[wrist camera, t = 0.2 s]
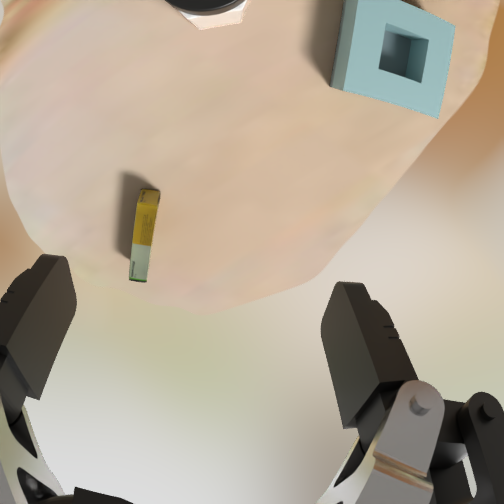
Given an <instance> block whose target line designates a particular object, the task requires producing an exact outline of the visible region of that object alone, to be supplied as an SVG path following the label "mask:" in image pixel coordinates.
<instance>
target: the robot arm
mask: <svg viewBox="0 0 504 504" xmlns="http://www.w3.org/2000/svg"><path fill="white" fill-rule="evenodd" d="M76 300H77V299H76V293H75V289H74V286H73V282H72V277H71V273H70V268H69V264H68V261H67V259H66V257H64V256H58V255H49V254H42V255H41V256H40V257H39V258H38V259H37V261H36V262H35V264H34V265H33V266H32V268H31V269H27V270H25V271H24V272H23V273H22V274H20V275H19V276H18V277H17V278H15V280H14V281H13V282H12V284H11V285H10V287H9V288H8V289H7V293H5V294H4V295H3V297H2V298H1V302H0V504H133V503H131V502H129V501H126V500H124V499H122V498H119V497H114V496H109V495H105V494H101V493H97V492H93V491H89V490H85V489H81V488H78V487H75V489H74V495H65V494H64V492H63V490H62V488H61V486H60V484H59V482H58V481H57V479H56V478H55V476H54V474H53V473H52V472H51V470H49V468H48V466H47V464H46V462H45V460H44V458H43V456H42V453H41V451H40V448H39V445H38V443H37V440H36V437H35V435H34V432H33V429H32V426H31V423H30V420H29V417H28V414H27V411H26V408H25V406H24V405H23V403H24V401H25V398H26V396H28V397H31V398H34V399H37V400H40V397H41V394H42V392H43V389H44V386H45V384H46V381H47V378H48V376H49V373H50V371H51V368H52V365H53V363H54V361H55V358H56V356H57V353H58V351H59V349H60V346H61V344H62V342H63V339H64V337H65V335H66V333H67V330H68V328H69V326H70V324H71V321H72V319H73V317H74V315H75V311H76V305H77V301H76ZM321 338H322V342H323V346H324V350H325V354H326V358H327V362H328V366H329V370H330V374H331V378H332V382H333V386H334V390H335V394H336V398H337V403H338V407H339V411H340V416H341V420H342V425H343V429H348V428H357V429H358V433H359V436H358V437H357V438H356V440H355V442H354V443H353V446H352V447H351V449H350V451H349V453H348V455H347V456H346V458H345V460H344V462H343V464H342V465H341V467H340V469H339V471H338V472H337V474H336V476H335V477H334V479H333V481H332V483H331V484H330V486H329V487H328V489H327V490H326V491H325V493H324V494H323V495H322V496H321V497H320V498H319V500H318V501H317V502H316V503H315V504H504V411H503V409H502V407H501V405H500V403H499V402H498V400H497V399H496V398H494V397H493V396H492V395H490V394H488V393H485V392H478V393H475V394H474V395H473V396H472V397H471V398H470V399H469V400H468V401H467V402H466V403H463V402H456V401H450V400H444V399H443V398H442V397H441V395H440V393H439V392H438V391H437V390H436V389H435V388H434V387H433V386H432V385H430V384H428V383H426V382H424V381H420V380H419V379H418V377H417V375H416V373H415V370H414V368H413V366H412V364H411V361H410V359H409V356H408V355H407V352H406V350H405V348H404V345H403V343H402V341H401V339H399V334H398V332H397V330H396V329H395V328H394V324H393V322H392V319H391V317H390V315H389V313H388V312H387V311H386V310H385V309H384V308H383V307H382V305H380V303H379V302H378V301H376V300H371V298H370V296H369V294H368V292H367V290H366V287H365V286H364V284H363V283H355V282H340V281H339V282H337V283H336V285H335V286H334V289H333V292H332V294H331V298H330V300H329V303H328V305H327V308H326V310H325V313H324V316H323V318H322V323H321ZM466 456H469V460H470V463H471V467H472V470H473V474H474V478H475V481H476V485H477V492H476V495H475V497H474V498H473V497H472V495H471V492H470V488H469V484H468V480H467V476H466V472H465V468H464V465H463V461H462V459H464V458H465V457H466Z"/></svg>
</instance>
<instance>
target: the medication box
mask: <svg viewBox="0 0 504 504" xmlns="http://www.w3.org/2000/svg"><path fill="white" fill-rule="evenodd" d="M159 202H160V191H154V190H148V189H141V192H140V195H139V198H138V201H137V207H136V214H135V222H134V230H133V239H132V248H131V258H130V269H129V280H131V281H136V282H147V275H148V269H149V263H150V256H151V249H152V242H153V236H154V229H155V224H156V218H157V212H158V207H159Z"/></svg>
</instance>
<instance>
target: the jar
mask: <svg viewBox="0 0 504 504" xmlns="http://www.w3.org/2000/svg"><path fill="white" fill-rule="evenodd" d="M165 1H167V2H168V3H169V4H170V5H171V6H173V7H174V8H176V9H177V10H178V11H179V12H180V13H181V14H182V15H183V16H184V17H185V18H186V19H188V20H189V21H190V22H191V23H192V24H193V25H194V26H195V27H197V28H198V29H199V30H202V29H208V28H213V27H219V26H225V25H231V24H238V23H241V22H242V20H243V18H244V16H245V13H246V11H247V9H248V7H249V5H250V3H251V1H252V0H165Z"/></svg>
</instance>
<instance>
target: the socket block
mask: <svg viewBox="0 0 504 504" xmlns="http://www.w3.org/2000/svg"><path fill="white" fill-rule="evenodd" d="M454 32H455V26H454V25H453V24H451V23H449V22H447V21H445V20H443V19H441V18H439V17H437V16H435V15H433V14H430V13H428V12H426V11H424V10H422V9H419V8H417V7H415V6H413V5H410V4H408V3H405V2H403V1H400V0H344V2H343V9H342V16H341V22H340V29H339V35H338V41H337V47H336V53H335V59H334V65H333V70H332V76H331V82H330V87H333V88H336V89H339V90H342V91H346V92H351V93H355V94H359V95H363V96H367V97H370V98H374V99H378V100H381V101H385V102H388V103H392V104H395V105H398V106H401V107H405V108H408V109H411V110H414V111H417V112H420V113H423V114H426V115H429V116H431V117H434V118H437V119H438V117H439V113H440V109H441V104H442V100H443V95H444V90H445V86H446V81H447V75H448V70H449V65H450V59H451V53H452V46H453V40H454Z"/></svg>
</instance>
